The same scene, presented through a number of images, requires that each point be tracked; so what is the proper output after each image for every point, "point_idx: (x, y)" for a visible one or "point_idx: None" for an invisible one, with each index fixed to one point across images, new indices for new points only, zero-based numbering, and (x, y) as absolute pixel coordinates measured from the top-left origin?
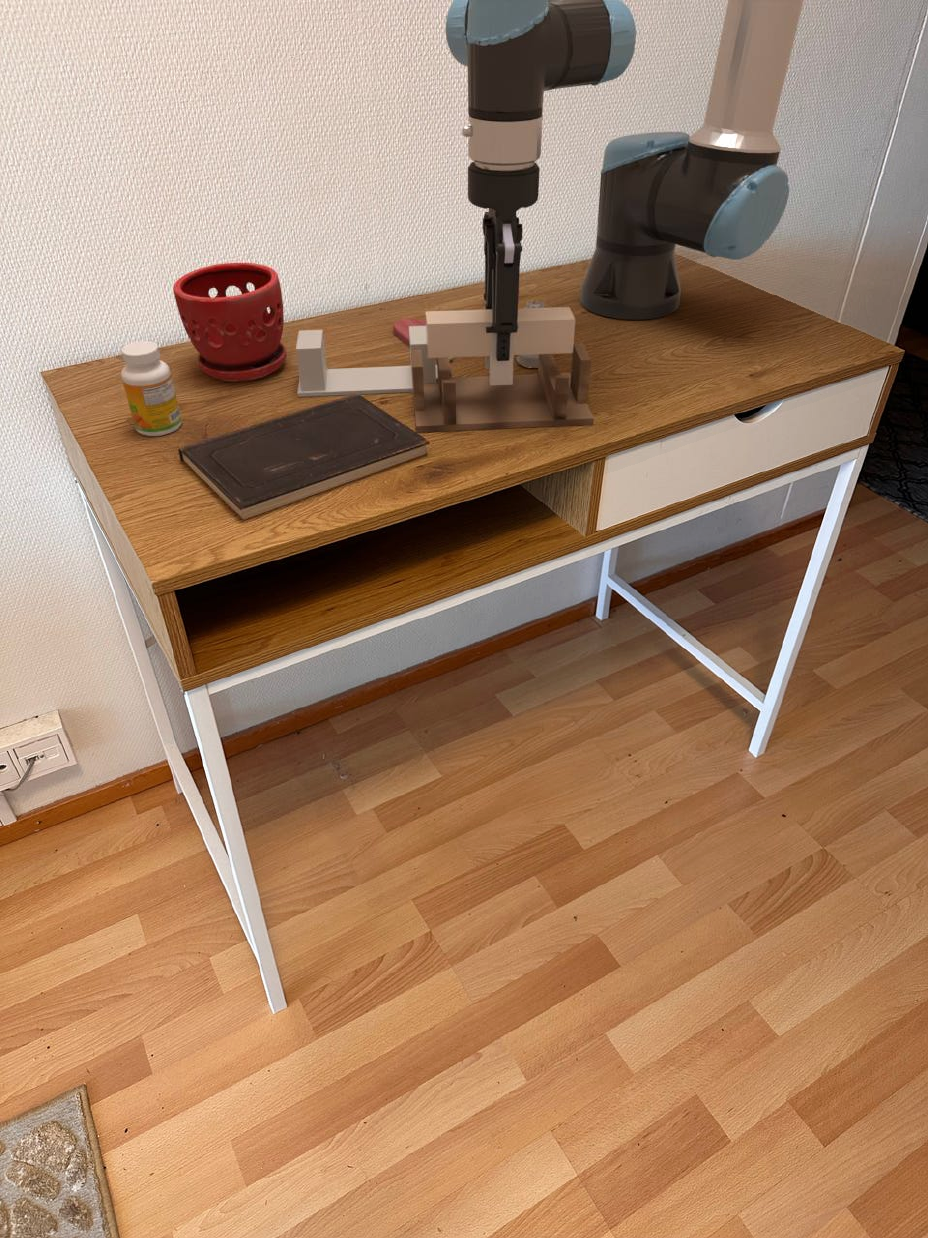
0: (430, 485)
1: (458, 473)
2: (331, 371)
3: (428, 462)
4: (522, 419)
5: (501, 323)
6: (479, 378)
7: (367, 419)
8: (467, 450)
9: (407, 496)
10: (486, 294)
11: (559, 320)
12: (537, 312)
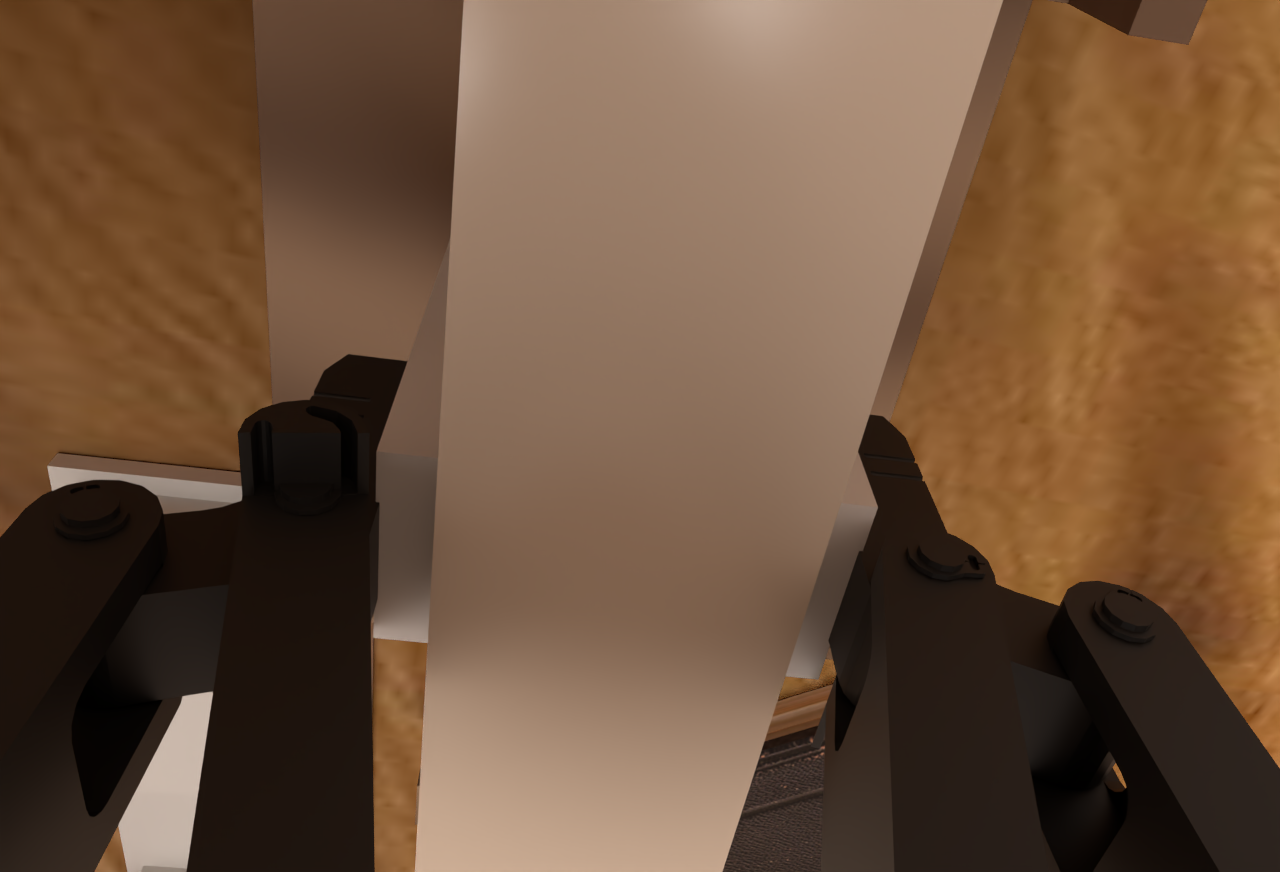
0: (1251, 653)
1: (1228, 554)
2: (152, 853)
3: None
4: (945, 182)
5: (1104, 773)
6: (296, 290)
7: (745, 827)
8: (1058, 486)
9: (1274, 723)
10: (164, 722)
11: (992, 4)
12: (632, 233)
